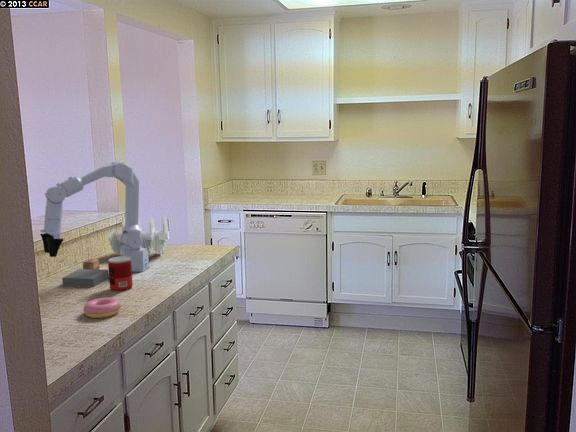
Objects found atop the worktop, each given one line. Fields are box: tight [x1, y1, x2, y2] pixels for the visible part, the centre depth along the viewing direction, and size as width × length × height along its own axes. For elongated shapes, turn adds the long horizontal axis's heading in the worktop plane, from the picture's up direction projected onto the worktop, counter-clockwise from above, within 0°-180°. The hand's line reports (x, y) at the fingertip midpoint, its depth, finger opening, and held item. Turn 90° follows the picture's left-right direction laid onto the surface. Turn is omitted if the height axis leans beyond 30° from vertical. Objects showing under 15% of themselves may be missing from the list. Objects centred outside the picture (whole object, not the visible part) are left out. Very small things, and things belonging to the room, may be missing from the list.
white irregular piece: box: [108, 216, 170, 256], centre depth 234 cm, size 18×18×25 cm
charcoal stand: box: [61, 268, 109, 288], centre depth 195 cm, size 12×12×3 cm
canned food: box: [107, 255, 134, 292], centre depth 185 cm, size 8×8×11 cm
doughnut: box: [83, 297, 121, 319], centre depth 161 cm, size 11×11×4 cm
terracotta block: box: [82, 258, 100, 270], centre depth 207 cm, size 4×4×5 cm
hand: (50, 254), depth 194 cm, fingers open, 7 cm apart
